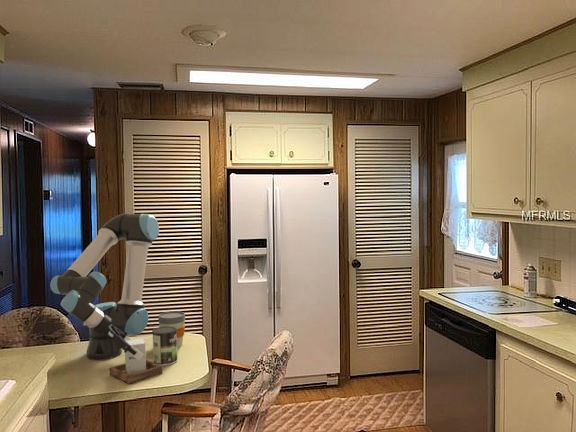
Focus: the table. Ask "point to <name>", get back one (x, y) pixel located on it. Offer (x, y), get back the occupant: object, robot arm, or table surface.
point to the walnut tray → (150, 371)
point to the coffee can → (165, 345)
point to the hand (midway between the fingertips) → (139, 352)
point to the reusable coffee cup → (174, 323)
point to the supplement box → (131, 362)
